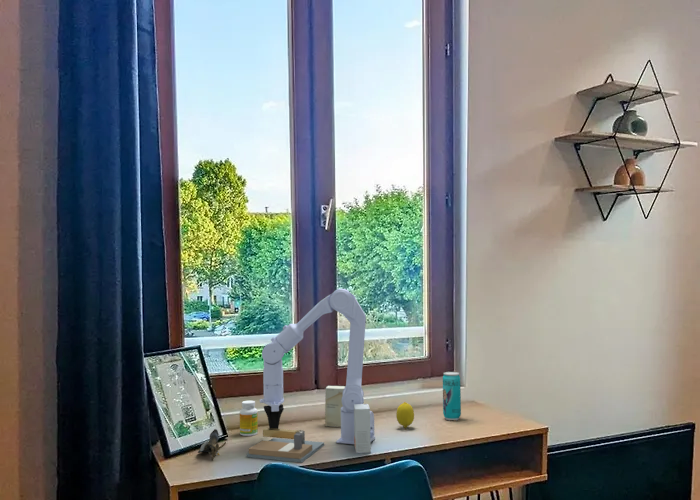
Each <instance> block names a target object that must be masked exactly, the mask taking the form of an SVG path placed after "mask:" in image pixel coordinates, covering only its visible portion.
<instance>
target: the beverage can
mask: <svg viewBox="0 0 700 500" xmlns="http://www.w3.org/2000/svg"><path fill="white" fill-rule="evenodd" d="M461 390H462V389H461V377H460V372H456V371H446V372H445V371H444V372H443V376H442V414H443V417H444V419H445V420H447V421H450V420H456V421H460V419H461V415H462V402H461V401H462V399H461V397H462V395H461V393H462V392H461Z"/></svg>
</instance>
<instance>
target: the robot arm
mask: <svg viewBox="0 0 700 500" xmlns="http://www.w3.org/2000/svg"><path fill="white" fill-rule="evenodd" d="M334 311H336V312H338V313H340V314H341V315H343V316H344V317H345V319H346V320H348V322H349V323H350V325H349V337H348V339H349V340H348V350H347V351H348V355H347V365H346V366H347V367H346V379H345V381H346V383H345V388H344V390H343V394H342V395H343V396H342V405H343V407H341V427H340V437H339V438H338V439H336V441H335V442H336V444H346V445H347V444H348V445H355V444H354V404H365V403H364V401H365V400H364V397H365V396H364V395H365V393H364V390H363V388H362V381H363V379H362V378H363V364H364V352H365V351H364V350H365V337H366V320H367V318H366V317H367V316H366V313H365V311H364V310H363V308H362V307H361V305H360V303H359V302H358V300H357V298H356V296H355V295H354V294H353V293H351V292H350V291H349V290H348V289H346V288H337V289H335V290H334V291H333V292H332V293H331V294H328V295H327V296H325V298H323V299H321V300H320V301H319V302H317V304H316V305H314V306H313V307H312V309H310V310H309V311H308V312H307V313H306V314H305V315H304V316H303V317H302V318H301V319H300V320H299V321H298V322H297V323H289V324H285V325H284V326H283V327H282V330H281V331H280V332H279V333H278V334H277V335H276V336H275V337H274V336H273V337H272V338H271V339H270V341H271V342H269V343H266V345H265V346H264V347H263V349H262V351H261V357H262V359H263V373H262V374H263V377H262V379H263V382H262V383H263V398H259V403H260V404H261V403H262V404H265V405H264V406H263V410H264V412H265V414H266V417H267V421H268V428H276V429H279V427H280V426H279V425H280V421H281V416H282V413H283V412H284V402H285V398H284V367H283V357H284V355H285V354H287V353H289V352H290V351H291V350H292V349H294V347H295V346H297V344H299V343H300V342H301V341H302V340H303V339H304V332H305V331H306V330H307V329H309V327H310V326H312V325H313V324H314V323H315V322H316V321H317V320H318V319H319V318H321V317H322V316H323V315H325V314H331V313H333V312H334ZM375 439H376V436H375V415H374V412H373V411H372V410H370V441H371V443H372V442H373V441H374V440H375Z"/></svg>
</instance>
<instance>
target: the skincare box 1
mask: <svg viewBox="0 0 700 500" xmlns="http://www.w3.org/2000/svg"><path fill="white" fill-rule="evenodd" d="M345 386H346V385H345ZM345 386H344V385H327V386H326V387H325V396H324V397H325V401H324V403H325V407H324V409H325V412H324V414H325V415H324V422H325V423H324V425H325V427H332V428H333V427H335V428H341V407H343V405H342V396H343V395H342V394H343V390H344V388H345Z"/></svg>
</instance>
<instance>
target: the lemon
mask: <svg viewBox="0 0 700 500" xmlns="http://www.w3.org/2000/svg"><path fill="white" fill-rule="evenodd" d="M414 419H415V412H414V408H413V407H412V405H411V404H410V403H408V402H406V401H404V402H403V403H400V405H398V407H397V409H396V421H397V423H398V424H399V425H400V426H402V427H403V428H404V429H407V428H408V427H409V426H410V425H412V423H413V422H414V421H415V420H414Z"/></svg>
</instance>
